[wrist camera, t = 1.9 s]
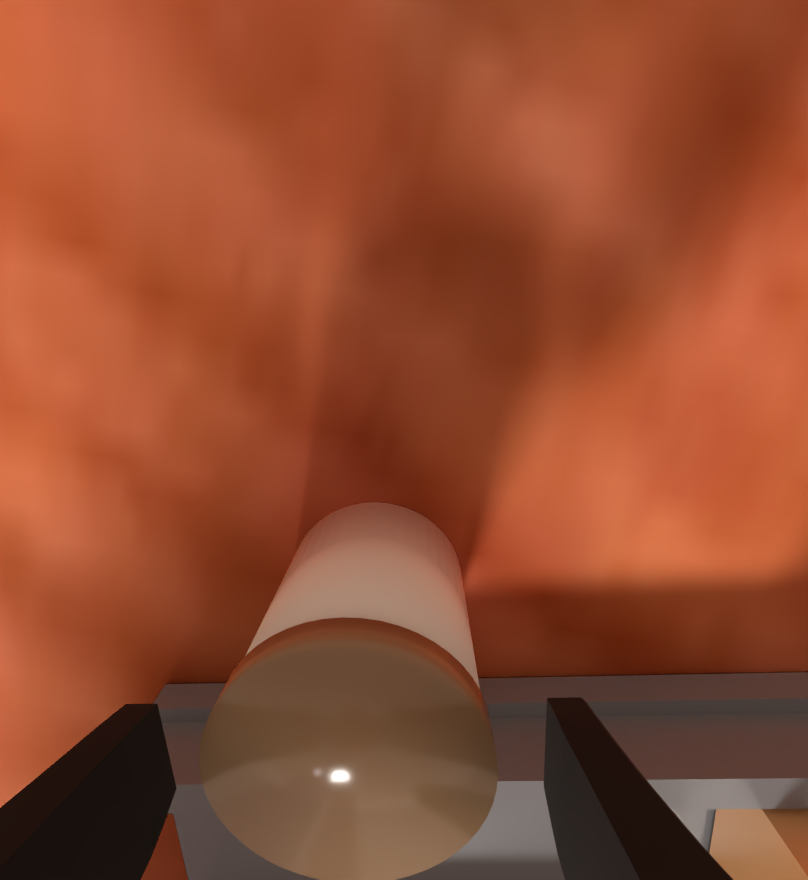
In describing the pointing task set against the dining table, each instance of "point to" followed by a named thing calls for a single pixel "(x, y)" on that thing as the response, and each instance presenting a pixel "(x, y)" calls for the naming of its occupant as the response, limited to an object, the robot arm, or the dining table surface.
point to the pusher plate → (761, 843)
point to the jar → (357, 708)
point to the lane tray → (523, 755)
